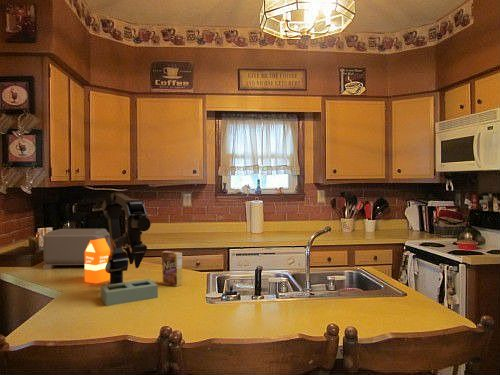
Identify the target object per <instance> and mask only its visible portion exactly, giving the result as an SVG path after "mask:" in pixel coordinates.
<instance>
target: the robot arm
mask: <svg viewBox="0 0 500 375" xmlns="http://www.w3.org/2000/svg"><path fill="white" fill-rule="evenodd" d="M144 204H145V203H144V202H143V201H142V199H139V198H131V197H129V196H127V195H125V194H124V193H123V192H113V193H111V194H110V196H108V197H107V198H105V199H104V200H103V202H102V204H101V210H102V212H103V215H104V217H105V218H106V219H107V222H108V232H109V234H110V254H109V256H108V262H107V264H106V267H105V270H106V272H107V273H110V279H109V282H107V285H109V284H116V283H124V282H125V281H124V272H127V271H128V267H129V265H133V264H134V266H135V269H138V268H140V265H141V262H142V261H143V258H144V257H145V254H146V253H147V252H148V246H147V245H146V244H145V243H143V241H142V235H143V232H147V231H148V230H149V229H150V228H151V226H152V222H151V220H150V219H149V218H148V217H147V216H148V211H147V209H146V206H145V205H144ZM122 211H124V213H125V219H126V231H125V232H124V235H122V236H121V227H120V219H119V218H120V217H121V214H122Z"/></svg>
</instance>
